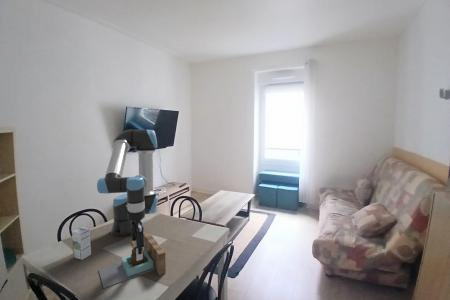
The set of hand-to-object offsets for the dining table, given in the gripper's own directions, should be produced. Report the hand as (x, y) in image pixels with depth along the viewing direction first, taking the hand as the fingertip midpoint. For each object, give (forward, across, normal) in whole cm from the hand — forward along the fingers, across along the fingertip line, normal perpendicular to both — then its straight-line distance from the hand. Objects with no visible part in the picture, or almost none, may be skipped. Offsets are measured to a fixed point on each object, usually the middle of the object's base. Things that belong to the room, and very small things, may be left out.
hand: (137, 256), depth 109 cm
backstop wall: (+5, 0, +8) cm, 9 cm away
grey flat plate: (+5, 0, -5) cm, 7 cm away
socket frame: (+5, 0, 0) cm, 5 cm away
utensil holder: (+4, 0, 0) cm, 4 cm away
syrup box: (+5, -25, -21) cm, 33 cm away
